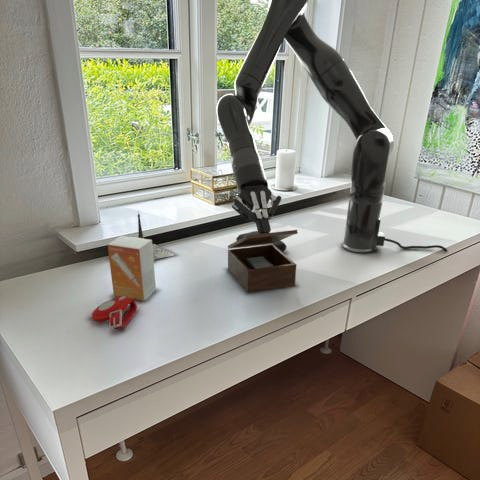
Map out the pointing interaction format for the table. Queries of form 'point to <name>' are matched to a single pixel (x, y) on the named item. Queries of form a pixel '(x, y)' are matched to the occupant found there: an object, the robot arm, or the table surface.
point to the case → (266, 276)
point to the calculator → (257, 262)
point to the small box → (132, 267)
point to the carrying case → (279, 244)
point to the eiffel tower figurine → (157, 250)
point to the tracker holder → (115, 312)
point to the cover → (261, 239)
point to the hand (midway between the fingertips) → (265, 234)
